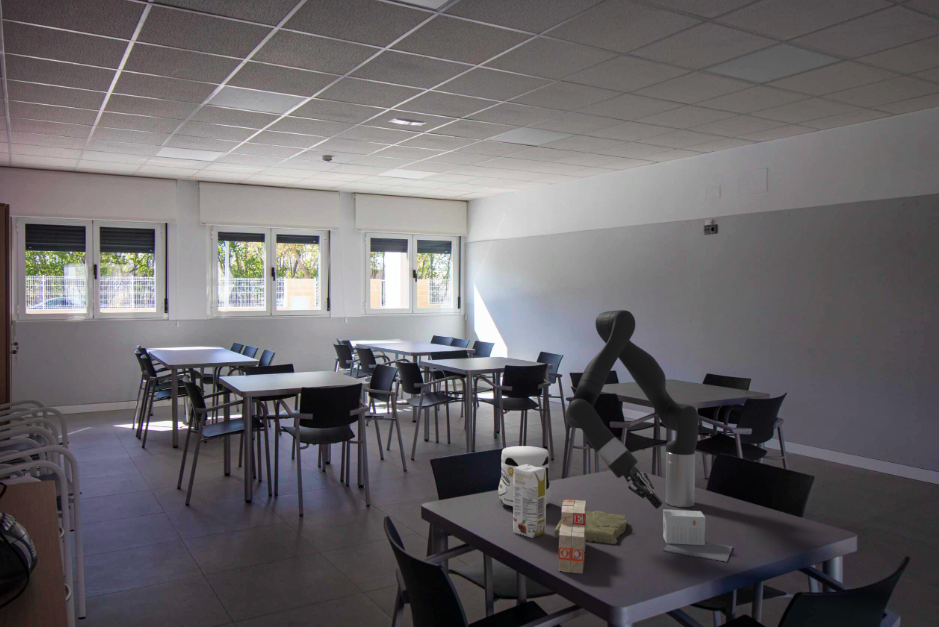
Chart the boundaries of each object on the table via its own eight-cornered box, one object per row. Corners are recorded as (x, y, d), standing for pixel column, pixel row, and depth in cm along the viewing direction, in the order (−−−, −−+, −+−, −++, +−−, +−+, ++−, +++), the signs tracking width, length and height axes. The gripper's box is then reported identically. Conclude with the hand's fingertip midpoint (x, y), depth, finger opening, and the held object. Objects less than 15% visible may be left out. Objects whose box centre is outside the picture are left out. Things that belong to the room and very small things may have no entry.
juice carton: (533, 540, 188) (533, 472, 188) (509, 532, 194) (509, 467, 193) (549, 533, 193) (549, 467, 193) (525, 526, 199) (525, 462, 199)
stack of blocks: (583, 574, 164) (584, 524, 164) (557, 572, 166) (558, 522, 166) (585, 544, 185) (586, 499, 185) (562, 542, 187) (563, 498, 186)
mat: (672, 537, 191) (672, 536, 191) (732, 547, 183) (732, 546, 183) (663, 551, 180) (663, 549, 180) (726, 562, 173) (726, 561, 173)
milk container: (487, 504, 221) (487, 450, 221) (523, 495, 233) (523, 443, 232) (526, 517, 208) (526, 459, 208) (562, 506, 220) (562, 451, 220)
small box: (662, 536, 190) (700, 539, 189) (665, 543, 185) (705, 546, 184) (663, 508, 190) (701, 510, 189) (666, 514, 185) (706, 517, 183)
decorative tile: (553, 538, 191) (553, 526, 191) (567, 517, 209) (567, 506, 209) (620, 547, 184) (620, 534, 184) (628, 524, 203) (628, 513, 203)
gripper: (620, 453, 185) (664, 504, 179) (632, 444, 197) (674, 492, 191) (601, 470, 188) (644, 521, 182) (614, 460, 199) (655, 508, 194)
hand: (659, 506), depth 187 cm, fingers closed
